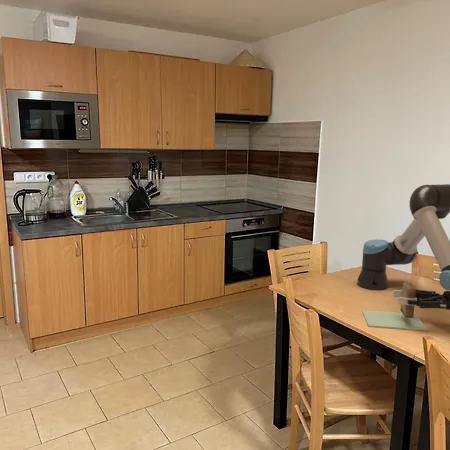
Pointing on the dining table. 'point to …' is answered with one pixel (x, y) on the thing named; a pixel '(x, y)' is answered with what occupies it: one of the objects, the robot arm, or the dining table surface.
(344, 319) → the dining table surface
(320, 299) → the dining table surface
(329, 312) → the dining table surface
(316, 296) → the dining table surface
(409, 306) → the slim walnut box
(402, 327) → the mat
